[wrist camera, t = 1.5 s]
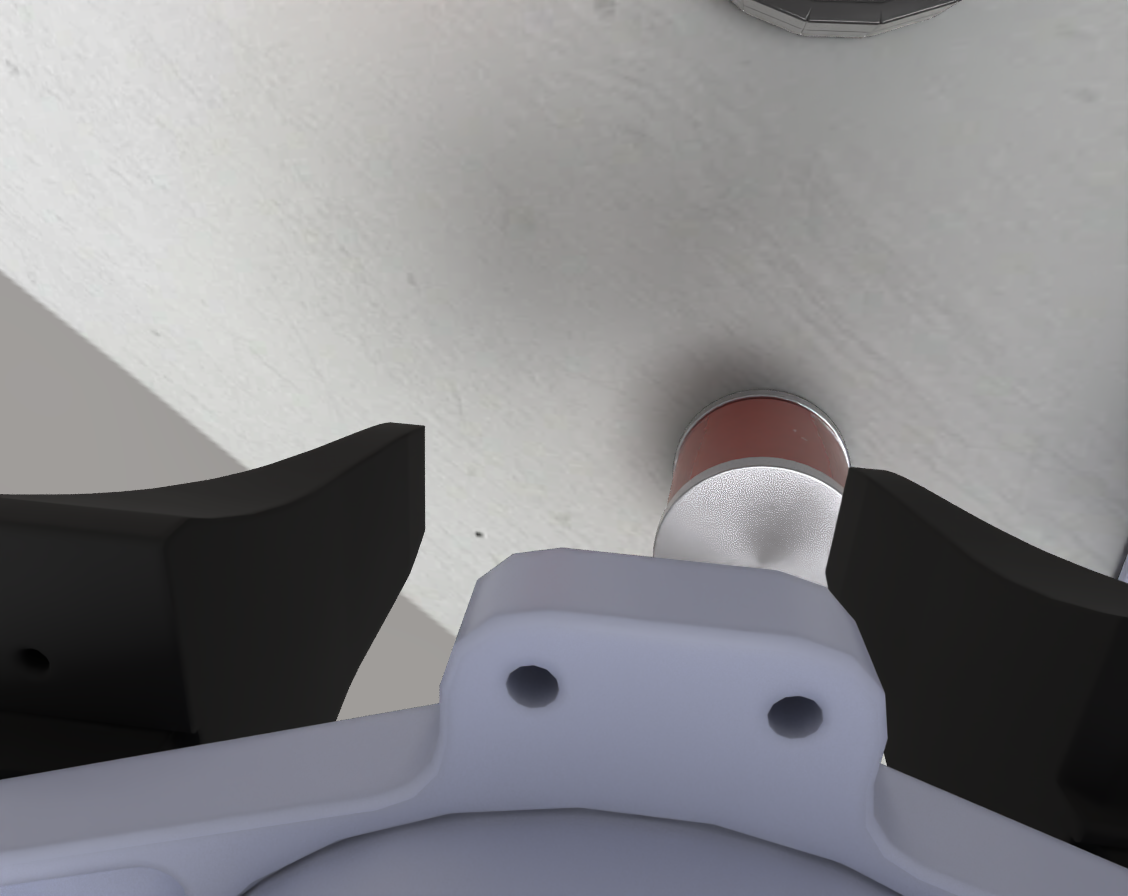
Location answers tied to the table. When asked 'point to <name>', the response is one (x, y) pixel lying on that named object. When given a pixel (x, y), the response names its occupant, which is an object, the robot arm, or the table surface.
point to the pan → (843, 15)
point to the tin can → (756, 486)
